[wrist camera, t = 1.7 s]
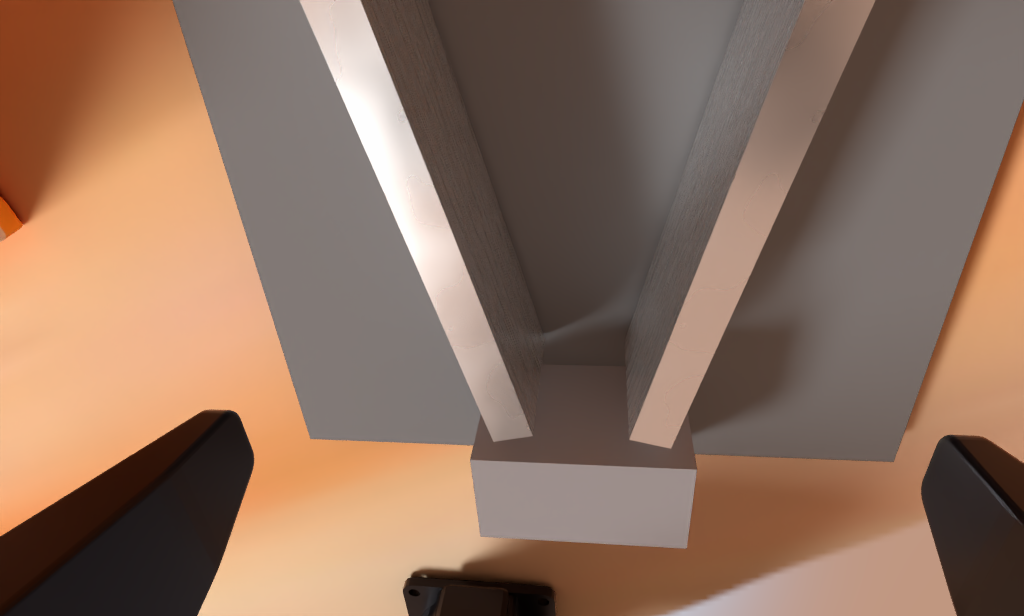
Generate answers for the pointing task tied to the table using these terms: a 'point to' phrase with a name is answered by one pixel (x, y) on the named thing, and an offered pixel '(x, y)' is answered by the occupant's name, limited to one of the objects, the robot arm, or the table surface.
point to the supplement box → (7, 221)
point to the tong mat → (617, 238)
